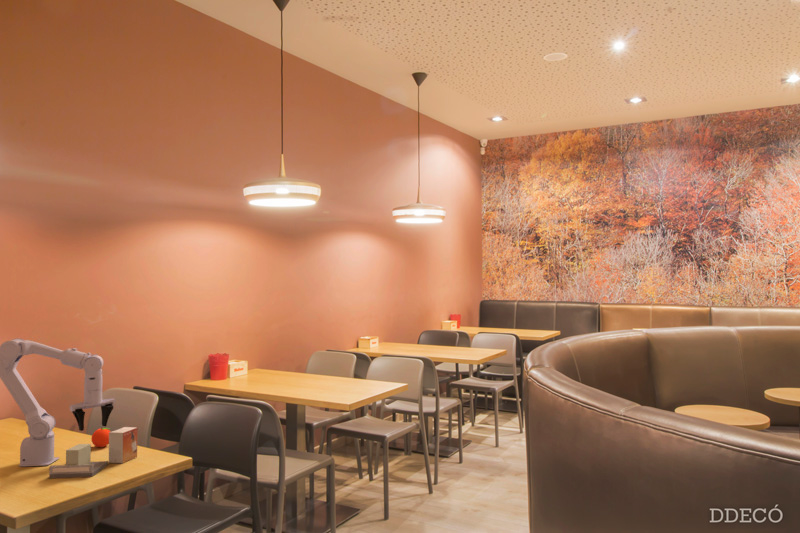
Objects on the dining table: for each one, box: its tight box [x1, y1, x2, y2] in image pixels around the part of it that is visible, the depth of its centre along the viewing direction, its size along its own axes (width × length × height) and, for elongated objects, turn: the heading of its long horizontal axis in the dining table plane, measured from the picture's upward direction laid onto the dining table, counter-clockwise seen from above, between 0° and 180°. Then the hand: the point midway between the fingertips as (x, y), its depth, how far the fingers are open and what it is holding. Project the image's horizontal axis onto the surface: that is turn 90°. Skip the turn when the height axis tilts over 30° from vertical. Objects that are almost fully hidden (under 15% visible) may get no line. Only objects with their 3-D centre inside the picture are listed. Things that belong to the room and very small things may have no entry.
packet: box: [65, 443, 92, 465], centre depth 182 cm, size 4×7×7 cm, turn 0°
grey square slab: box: [48, 460, 109, 479], centre depth 183 cm, size 13×12×4 cm
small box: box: [108, 426, 138, 464], centre depth 195 cm, size 8×6×10 cm
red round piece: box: [91, 427, 111, 448], centre depth 212 cm, size 8×7×7 cm
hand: (93, 428), depth 198 cm, fingers open, 7 cm apart
